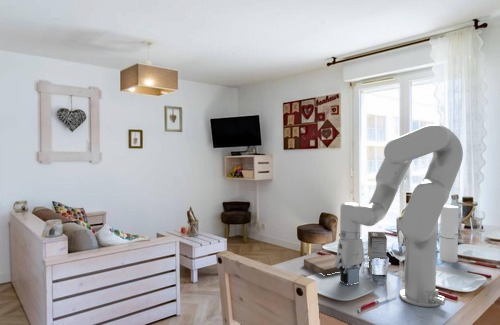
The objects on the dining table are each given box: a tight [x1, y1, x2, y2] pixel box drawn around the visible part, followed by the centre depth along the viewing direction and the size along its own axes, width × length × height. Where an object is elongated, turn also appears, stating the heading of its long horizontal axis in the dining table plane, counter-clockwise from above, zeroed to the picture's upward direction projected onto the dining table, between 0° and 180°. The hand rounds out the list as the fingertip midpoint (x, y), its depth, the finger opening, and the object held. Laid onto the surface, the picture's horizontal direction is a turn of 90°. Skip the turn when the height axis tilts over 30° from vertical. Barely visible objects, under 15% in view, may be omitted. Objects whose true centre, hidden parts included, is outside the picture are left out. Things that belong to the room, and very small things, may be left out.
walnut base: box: [303, 254, 341, 275], centre depth 146 cm, size 14×14×3 cm
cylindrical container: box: [439, 204, 460, 263], centre depth 156 cm, size 7×7×25 cm
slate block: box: [339, 266, 360, 286], centre depth 131 cm, size 5×5×6 cm
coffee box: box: [367, 231, 388, 276], centre depth 142 cm, size 9×6×16 cm
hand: (349, 280), depth 131 cm, fingers closed on slate block, 5 cm apart
